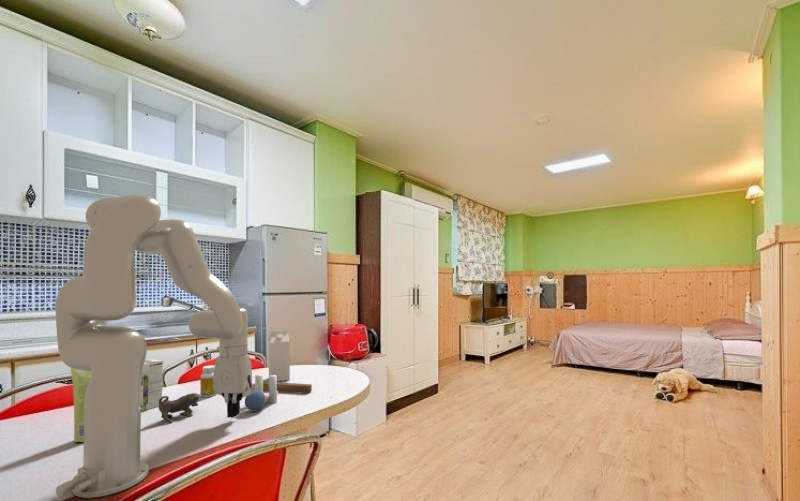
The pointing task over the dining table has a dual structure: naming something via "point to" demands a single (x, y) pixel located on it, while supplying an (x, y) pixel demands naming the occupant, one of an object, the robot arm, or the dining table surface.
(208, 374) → the supplement bottle
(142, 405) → the syrup box
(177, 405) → the dog figurine
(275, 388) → the back pin right
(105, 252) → the robot arm
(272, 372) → the milk carton
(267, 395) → the front pin
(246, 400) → the ball
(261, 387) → the back pin left
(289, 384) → the brown bar
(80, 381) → the tube
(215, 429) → the dining table surface
